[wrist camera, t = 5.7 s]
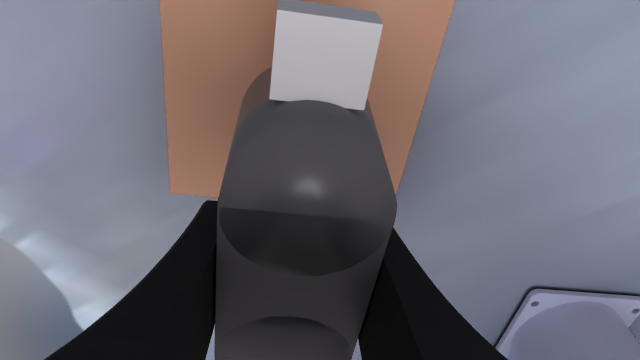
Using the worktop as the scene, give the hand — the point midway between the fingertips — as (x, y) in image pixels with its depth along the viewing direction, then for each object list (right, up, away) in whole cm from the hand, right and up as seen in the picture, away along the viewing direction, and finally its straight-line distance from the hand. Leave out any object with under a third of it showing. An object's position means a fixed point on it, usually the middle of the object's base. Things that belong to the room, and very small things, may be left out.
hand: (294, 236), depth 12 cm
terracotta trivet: (0, +5, +8) cm, 9 cm away
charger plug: (0, +1, +1) cm, 2 cm away
